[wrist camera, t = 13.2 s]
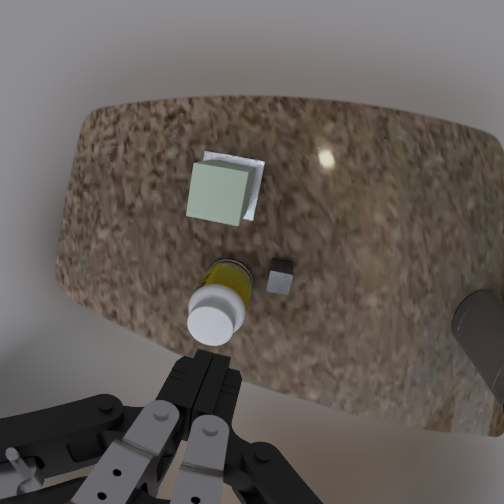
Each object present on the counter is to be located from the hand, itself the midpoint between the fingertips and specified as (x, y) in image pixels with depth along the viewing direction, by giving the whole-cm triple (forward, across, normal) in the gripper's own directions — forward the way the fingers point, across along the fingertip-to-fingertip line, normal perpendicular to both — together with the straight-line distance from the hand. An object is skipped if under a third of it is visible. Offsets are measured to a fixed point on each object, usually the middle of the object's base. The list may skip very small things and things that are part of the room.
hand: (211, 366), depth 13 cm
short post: (+25, -3, +5) cm, 26 cm away
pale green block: (+24, +5, -4) cm, 25 cm away
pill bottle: (+26, +3, +8) cm, 27 cm away
